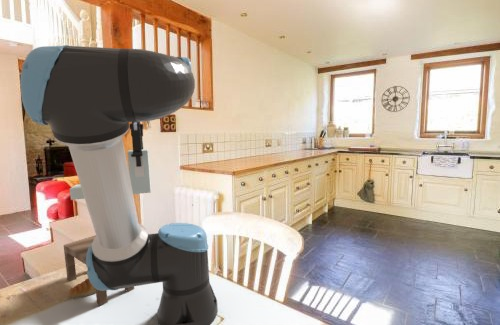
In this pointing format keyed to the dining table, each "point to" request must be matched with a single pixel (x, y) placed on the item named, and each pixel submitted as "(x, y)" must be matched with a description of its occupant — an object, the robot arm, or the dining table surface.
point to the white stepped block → (137, 183)
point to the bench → (80, 253)
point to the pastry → (82, 289)
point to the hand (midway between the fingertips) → (140, 174)
